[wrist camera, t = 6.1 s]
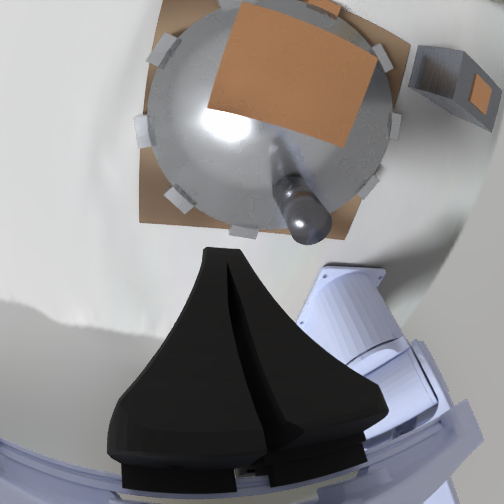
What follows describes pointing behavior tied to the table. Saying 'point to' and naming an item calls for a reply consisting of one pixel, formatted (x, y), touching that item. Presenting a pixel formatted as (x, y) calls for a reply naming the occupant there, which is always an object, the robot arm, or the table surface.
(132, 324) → the table surface
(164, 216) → the walnut board
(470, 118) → the gray cube
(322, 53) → the sprocket
